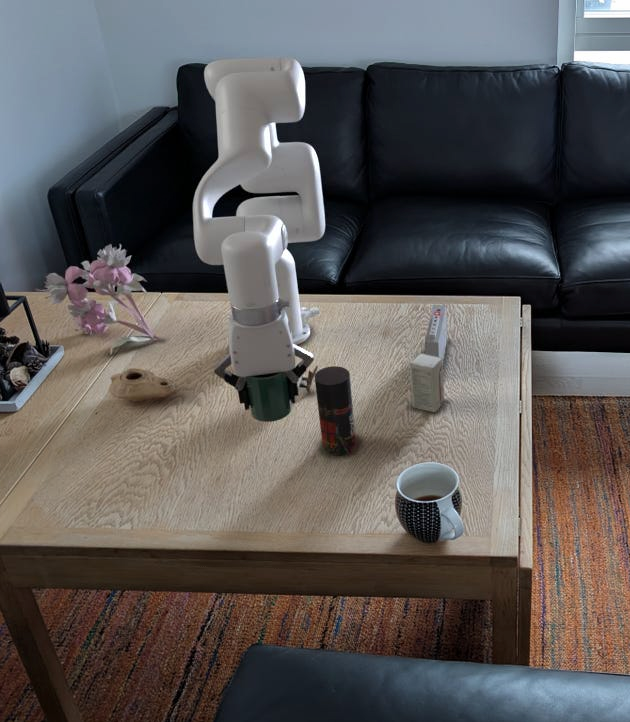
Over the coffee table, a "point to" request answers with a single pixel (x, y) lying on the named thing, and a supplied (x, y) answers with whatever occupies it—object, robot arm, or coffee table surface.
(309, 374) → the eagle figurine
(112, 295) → the flower
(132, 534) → the coffee table surface
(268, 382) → the pot
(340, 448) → the deodorant
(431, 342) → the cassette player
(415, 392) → the beige box
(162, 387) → the pottery oil lamp
